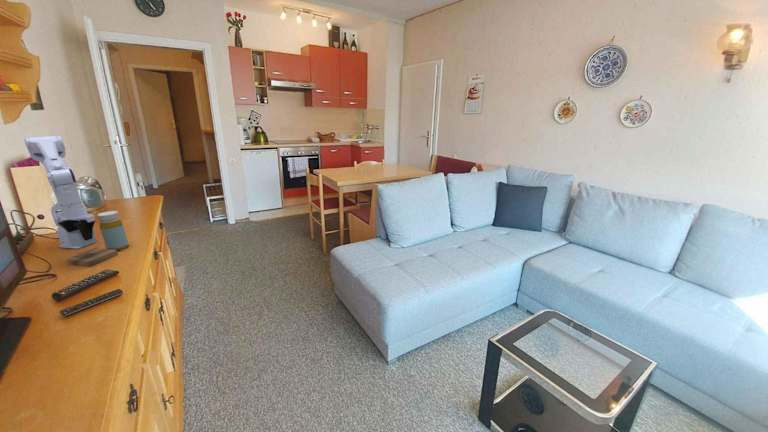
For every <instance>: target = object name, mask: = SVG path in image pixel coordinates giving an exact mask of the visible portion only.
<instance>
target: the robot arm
mask: <svg viewBox="0 0 768 432" xmlns="http://www.w3.org/2000/svg"><path fill="white" fill-rule="evenodd" d="M23 141H24V143H25V146H26V149H27V151H28V153H29V155H30V157H31V158H32V160H33V161H38V162H40V163H41V164H42V165H43V166H44V168H45V169H44V170H45V171H46V173H45V174H46V177H47V181H48V183H49V185H50V187H51V188H52V190H53V193H54V197H55V199H56V201H57V202H56V203H54V204H53V205H52V206H51V207H50V212H51V216H52V219H53V222H54V224H55V226H56V227H57V228H56V229H57V230H56V233H57V237H58V239H59V242H60V244H61V245H59V248H63V249H75V250H78V249H80V248H84V247H86V246H88V245H86V246H83V247H78V246H71V243H70V241H69V238H68V235H67V233H69V232H72V231H75V230H78V229H79V231H80V232H81V234H82V236H83V238H84V239H85V240H86V241H87V240H90V239H92V236H93V231H94V225H95V223H96V219H95V215H92V214H90V213H89V214H88V212H87V209H86V207H85V206H84V204H83V202H82V200H81V196H80V193H79V190H78V187H77V183H78V182H77V178H76V174H75V172H74V170H73V169H72V167H70V166H69V165H68V163H67V162H66V160H65V158H66V147H65V144H64V143H65V142H64V141H63V138H62V136H60V135H58V134H57V135H45V136H41V135H40V136H24V138H23ZM91 244H93V243H91ZM91 244H90V245H91Z"/></svg>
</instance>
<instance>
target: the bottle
mask: <svg viewBox="0 0 768 432" xmlns="http://www.w3.org/2000/svg"><path fill="white" fill-rule="evenodd" d="M96 215H97V219H98V220H99V229H100V232H101V235H102V238H103V239H102V240H103V242H104V245H105V249H112V250H117V252H119V251H122V250H124V249H127V248H128V247H129V246H130V245H129V241H128V237H127V234H126V230H125V226H124V223H123V221H122V220H121V219H120V215H119V211H117V210H109V211H103V212H100V213H98V214H96Z"/></svg>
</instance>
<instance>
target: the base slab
mask: <svg viewBox="0 0 768 432" xmlns="http://www.w3.org/2000/svg"><path fill="white" fill-rule="evenodd" d="M118 255H119V254H118V251H117V250H112V249H107V248H102V247H101V248H99V247H95V248H91V249H90V250H88V251H84V252H82V253H79V254H76V255H74V256H71V257H69V258H66V261H67V264H68V265H70V266H71V265H72V266H80V267H89V268H90V267H91V268H92V267H93V266H95V265H97V264H100V263H102V262H105V261H108V260H110V259H112V258H114V257H116V256H118Z"/></svg>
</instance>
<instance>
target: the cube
mask: <svg viewBox="0 0 768 432" xmlns="http://www.w3.org/2000/svg"><path fill="white" fill-rule="evenodd" d="M67 235H68V238H69V241H70V243H71V246H78V247H81V248H84V247H86V245H87V246H89V245H91V243H92V244H94V243H97V242H98V240H97V238H96V235H95V232H94V230H93V236H92V239H90V240H87V241H86V240H85V239H84V238H83V236H82V234H81V232H80V231H79V229H78V230H75V231H72V232H69V233H67ZM83 246H84V247H83Z"/></svg>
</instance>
